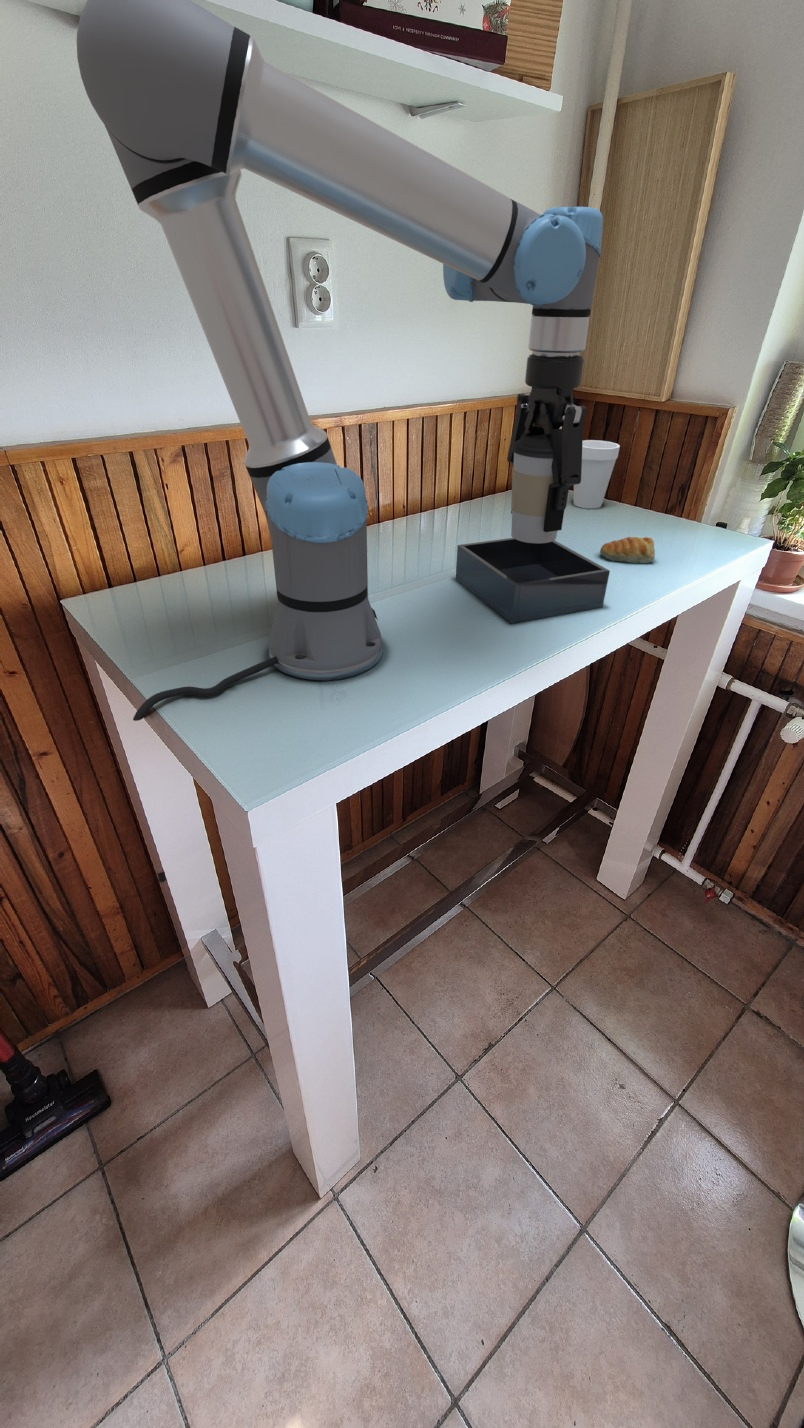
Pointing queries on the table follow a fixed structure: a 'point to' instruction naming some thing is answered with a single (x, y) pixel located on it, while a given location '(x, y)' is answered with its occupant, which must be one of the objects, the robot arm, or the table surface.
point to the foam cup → (595, 472)
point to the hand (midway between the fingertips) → (535, 521)
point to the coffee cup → (531, 488)
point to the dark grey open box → (530, 578)
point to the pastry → (630, 550)
